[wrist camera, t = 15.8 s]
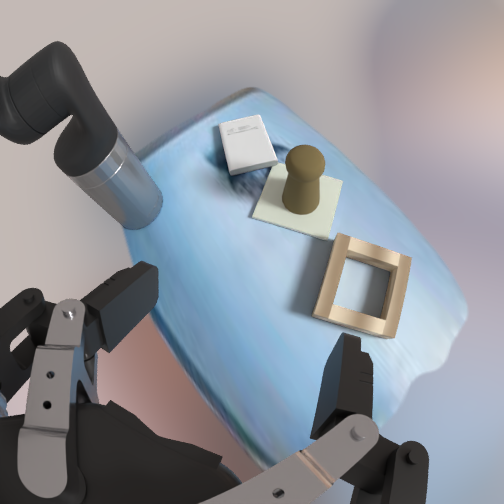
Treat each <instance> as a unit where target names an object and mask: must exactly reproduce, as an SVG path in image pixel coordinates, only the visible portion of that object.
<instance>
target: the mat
mask: <svg viewBox="0 0 504 504" xmlns="http://www.w3.org/2000/svg"><path fill="white" fill-rule="evenodd" d="M287 176H288V172H287V170H286V165H285V164H281V163H278V165H276V166H272V169H271V171H270V173H269V176H268V178H267V181H266V183H265V186H264V188H263V191H262V193H261V196H260V198H259V201H258V203H257V206H256V208H255V211H254V213H253V216H252V218H253V219H257V220H260V221H264V222H267V223H270V224H274V225H277V226H280V227H284V228H287V229H290V230H293V231H297V232H300V233H303V234H306V235H309V236H313V237H316V238H319V239H322V240H325V241H327V240H328V237H329V233H330V229H331V226H332V222H333V218H334V214H335V211H336V207H337V203H338V199H339V195H340V191H341V187H342V182H343V181H341V180H338V179H335V178H331V177H328V176H325V175H321V177H320V201H319V205H318V207H317V208H316V209H315V210H314V211H313V212H312V213H309V214H307V215H298V214H294V213H292V212H290V211H289V210H288V209H287V208H286V207H285V206H284V204H283V202H282V194H283V190H284V186H285V183H286V179H287Z"/></svg>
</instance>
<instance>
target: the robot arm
mask: <svg viewBox="0 0 504 504" xmlns="http://www.w3.org/2000/svg"><path fill="white" fill-rule="evenodd" d="M70 115H73V117H72V119H71V120H70V122H69V123H68V125H67V126H66V127H65V129H64V130H63V132H62V133H61V135H60V137H59V138H58V140H57V143H56V145H55V149H54V160H55V163H56V164H57V166H58V167H59V168H60V169H61V170H62V171H63V172H64V173H65V174H66V175H67V176H68V177H69V178H70V179H71V180H72V181H73V182H74V183H76V184H77V185H78V186H79V187H80V188H81V189H82V190H83V191H84V192H85V193H87V194H88V195H89V196H90V197H91V198H92V199H93V200H94V201H95V202H96V203H97V204H99V205H100V206H101V207H102V208H103V209H104V210H105V211H106V212H107V213H109V214H110V215H111V216H112V217H113V218H114V219H115V220H116V221H118V222H119V223H120V224H121V225H122V226H124V227H125V228H127V229H132V230H135V229H140V228H143V227H145V226H147V225H149V224H150V223H151V222H152V221H153V220H154V219H155V218H156V217H157V215H158V214H159V212H160V210H161V207H162V202H163V200H162V194H161V192H160V190H159V188H158V187H157V185H156V184H155V183H154V181H153V180H152V178H151V177H150V175H149V174H148V172H147V171H146V170H145V168H144V167H143V165H142V164H141V162H140V161H139V159H138V158H137V156H136V155H135V154H134V152H133V151H132V149H131V148H130V146H129V145H128V143H127V142H126V140H125V139H124V138H123V136H122V134H121V133H120V132H119V130H118V129H117V127H116V126H115V124H114V122H113V121H112V119H111V118H110V116H109V115H108V113H107V112H106V110H105V108H104V107H103V105H102V104H101V102H100V101H99V99H98V97H97V96H96V94H95V92H94V90H93V89H92V87H91V85H90V83H89V81H88V79H87V77H86V75H85V73H84V71H83V69H82V67H81V65H80V64H79V62H78V60H77V58H76V56H75V55H74V53H73V52H72V51H71V49H70V48H69V47H68V46H67V45H66V44H64V43H62V42H59V41H57V42H53V43H51V44H49V45H47V46H46V47H44V48H43V49H42V50H40V51H39V52H38V53H36V54H35V55H34V56H32V57H31V58H30V59H29V60H27V61H26V62H25V63H24V64H23V65H21V66H20V67H19V68H18V69H17V70H16V71H14V72H13V73H12V74H11V75H10V76H9V77H1V76H0V135H1V136H3V137H4V138H6V139H8V140H10V141H12V142H14V143H17V144H23V145H26V144H31V143H33V142H35V141H36V140H38V139H39V138H41V137H42V136H43V135H45V134H46V133H47V132H48V131H50V130H51V129H52V128H54V127H55V126H56V125H58V124H59V123H60V122H62V121H63V120H64V119H66V118H67V117H68V116H70ZM157 300H158V268H157V267H156V266H154V265H151V264H149V263H146V262H144V261H140V262H138V263H137V264H136V265H134V266H133V267H132V268H126V269H123V270H120V271H118V272H116V273H115V274H114V275H112V276H111V277H110V279H107V280H106V281H104V283H103V284H100V285H99V286H98V287H97V288H95V289H94V290H93V291H91V292H90V293H89V294H88V295H87V296H85V297H84V298H83V299H81V300H80V301H79V300H77V299H66V300H63V301H61V302H60V303H58V304H55V303H51V302H48V301H45V300H44V297H43V294H42V292H41V290H39V289H36V288H28V289H25V290H23V291H22V292H21V293H19V294H18V295H17V296H15V297H14V298H13V299H11V300H10V301H9V302H8V303H6V304H5V305H4V306H3V307H2V308H0V504H310V503H311V502H312V501H314V500H315V499H316V498H318V497H319V496H320V495H322V494H323V493H324V492H325V491H327V490H328V489H329V488H330V487H331V486H332V485H333V483H334V482H335V481H336V480H337V479H339V478H340V479H342V480H344V481H346V482H348V483H350V484H352V485H354V490H353V494H352V498H351V501H350V504H425V502H426V493H427V483H428V467H429V456H428V453H427V451H426V449H425V447H424V446H423V445H421V444H420V443H418V442H415V441H407V442H405V443H403V444H402V445H398V444H396V443H393V442H392V441H390V440H388V439H386V438H384V437H382V436H381V435H380V434H379V430H378V427H377V425H376V424H375V422H374V421H373V420H372V408H373V363H372V360H371V358H370V356H369V354H368V353H365V352H362V351H361V338H360V337H357V336H354V335H350V334H347V333H342V334H341V335H340V337H339V339H338V341H337V343H336V345H335V347H334V348H333V350H332V352H331V354H330V356H329V358H328V360H327V362H326V365H325V368H324V372H323V377H322V383H321V388H320V393H319V398H318V403H317V408H316V413H315V418H314V422H313V427H312V431H311V435H310V439H314V440H317V441H315V442H314V443H312V444H311V445H309V446H308V447H307V448H305V449H303V450H300V451H298V452H296V453H294V454H292V455H291V456H289V457H288V458H286V459H285V460H283V461H281V462H280V463H278V464H276V465H275V466H273V467H271V468H270V469H268V470H266V471H264V472H263V473H261V474H259V475H257V476H255V477H254V478H252V479H250V480H248V481H246V482H244V483H242V482H241V481H240V480H239V478H238V477H237V476H236V475H235V474H234V473H233V472H232V471H231V470H230V469H229V468H227V467H226V466H225V465H223V464H222V463H221V460H222V456H220V455H217V454H215V453H212V452H210V451H207V450H204V449H202V448H200V447H198V446H195V445H193V444H189V443H185V442H180V441H176V440H171V439H167V438H163V437H160V436H158V435H156V434H155V433H154V432H153V431H152V430H151V429H149V428H148V427H147V426H146V425H145V424H144V423H143V422H142V421H141V420H140V419H138V418H137V417H136V416H135V415H134V414H132V413H131V412H129V411H127V410H126V409H124V408H122V407H121V406H119V405H117V404H116V403H114V402H113V401H111V400H110V401H109V402H108V404H107V405H101V404H99V399H98V395H97V359H98V355H97V351H98V350H99V349H100V348H102V349H104V350H105V351H107V352H108V353H110V352H111V351H112V350H113V349H114V348H115V347H116V346H117V345H118V343H119V342H120V341H121V340H122V339H123V338H124V337H125V336H126V335H127V334H128V333H129V332H130V331H131V330H132V329H133V328H134V327H135V326H136V325H137V324H138V323H139V322H140V321H141V320H142V319H143V318H144V317H145V316H146V315H147V314H148V313H149V312H150V311H151V310H152V309H153V308H154V306H155V305H156V303H157ZM25 328H26V330H27V332H28V334H29V335H28V336H27V337H26V338H25V339H24V340H23V341H22V342H21V343H20V344H19V345H18V346H17V347H16V348H15V349H14V350H13V351H12V352H10V344H11V342H12V340H13V339H15V338H16V337H17V336H18V335H19V334H20V333H21V332H22V331H23V330H24V329H25ZM29 378H30V383H29V389H28V396H27V404H26V412H25V414H21V415H14V416H8V412H7V410H6V406H7V403H8V402H9V400H10V399H11V398H12V397H13V396H14V395H15V394H16V392H17V391H18V390H19V389H20V388H21V387H22V386H23V384H24V383H25V382H26V381H27V380H28V379H29Z"/></svg>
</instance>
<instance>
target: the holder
mask: <svg viewBox="0 0 504 504" xmlns="http://www.w3.org/2000/svg"><path fill="white" fill-rule="evenodd" d="M346 257H348V258H351V259H354V260H357V261H360V262H363V263H366V264H369V265H372V266H375V267H378V268H381V269H384V270H387V271H390V272H391V273H390V278H389V282H388V287H387V291H386V296H385V300H384V304H383V308H382V312H381V316H380V319H379V318H376V317H373V316H369V315H366V314H363V313H360V312H356V311H353V310H350V309H347V308H343V307H340V306H337V305H334V304H333V302H334V298H335V295H336V291H337V288H338V284H339V281H340V277H341V274H342V270H343V266H344V262H345V258H346ZM411 259H412V258H411V257H408V256H405V255H403V254H400V253H397V252H394V251H391V250H388V249H385V248H383V247H380V246H377V245H374V244H371V243H368V242H365V241H362V240H359V239H356V238H353V237H350V236H347V235H344V234H341V233H337V235H336V237H335V239H334V242H333V246H332V250H331V253H330V257H329V260H328V264H327V267H326V271H325V274H324V277H323V281H322V284H321V287H320V291H319V294H318V297H317V300H316V303H315V306H314V310H313V313H312V317H315V318H318V319H321V320H325V321H328V322H331V323H334V324H338V325H341V326H344V327H347V328H351V329H354V330H357V331H361V332H364V333H368V334H371V335H375V336H378V337H382V338H385V339H392V338H395V335H396V331H397V327H398V323H399V319H400V315H401V311H402V307H403V302H404V297H405V293H406V288H407V282H408V277H409V271H410V265H411Z"/></svg>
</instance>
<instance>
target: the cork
mask: <svg viewBox="0 0 504 504" xmlns="http://www.w3.org/2000/svg"><path fill="white" fill-rule="evenodd" d="M285 165H286V170H287V172H288V176H287V179H286V183H285V186H284V190H283V194H282V202H283V204H284V206H285V207H286V208H287V209H288V210H289V211H290V212H292V213H294V214H298V215H307V214H309V213H312V212H313V211H314V210H315V209H316V208H317V207H318V205H319V201H320V177H321V175H322V174H323V172H324V169H325V160H324V156H323V155H322V153H321V152H320V151H319V150H318V149H316V148H315V147H313V146H310V145H299V146H296V147H294V148H293V149H291V150H290V151H289V153H288V154H287V156H286V161H285Z"/></svg>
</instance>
